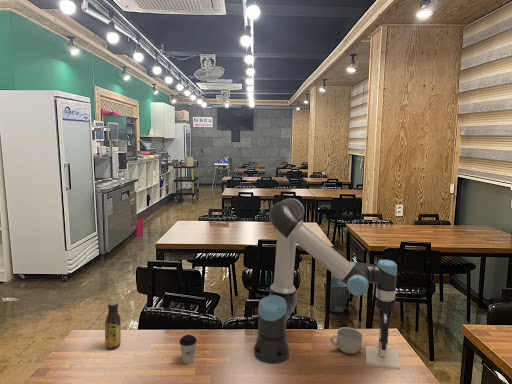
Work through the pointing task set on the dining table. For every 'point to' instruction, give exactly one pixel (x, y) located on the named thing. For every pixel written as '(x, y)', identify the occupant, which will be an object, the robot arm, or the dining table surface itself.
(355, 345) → the teacup
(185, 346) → the coffee cup
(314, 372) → the dining table surface
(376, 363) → the lid
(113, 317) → the sauce bottle
